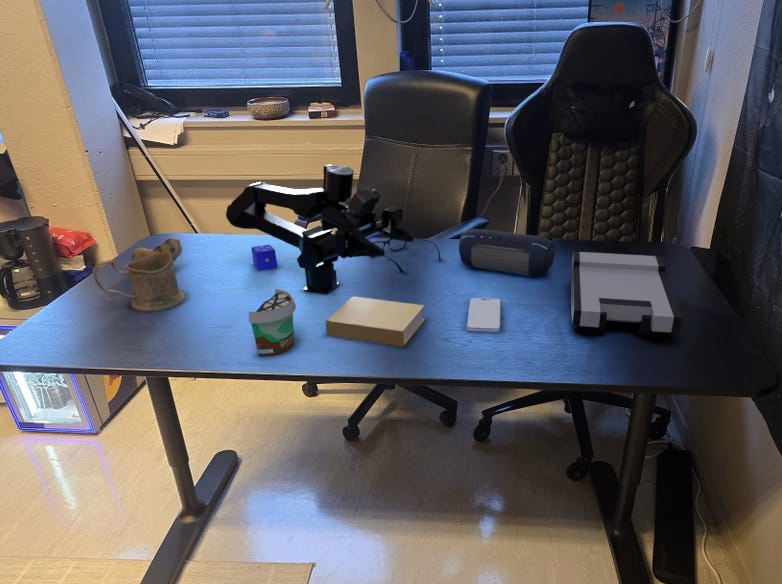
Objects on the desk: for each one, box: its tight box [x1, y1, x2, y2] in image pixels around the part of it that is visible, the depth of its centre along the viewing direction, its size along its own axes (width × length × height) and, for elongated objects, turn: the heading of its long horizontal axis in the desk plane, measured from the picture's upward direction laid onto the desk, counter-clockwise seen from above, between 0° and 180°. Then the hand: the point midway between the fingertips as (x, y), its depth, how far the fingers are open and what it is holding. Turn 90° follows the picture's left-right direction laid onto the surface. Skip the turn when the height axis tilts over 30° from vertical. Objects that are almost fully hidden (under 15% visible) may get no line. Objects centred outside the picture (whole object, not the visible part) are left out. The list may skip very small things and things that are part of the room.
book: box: [325, 295, 426, 348], centre depth 133 cm, size 17×13×4 cm
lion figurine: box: [130, 236, 183, 263], centre depth 160 cm, size 15×5×9 cm, turn 103°
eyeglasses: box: [369, 236, 442, 274], centre depth 170 cm, size 16×16×4 cm
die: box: [250, 244, 278, 272], centre depth 165 cm, size 5×5×5 cm
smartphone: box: [465, 297, 502, 333], centre depth 139 cm, size 7×1×15 cm
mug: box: [92, 251, 186, 312], centre depth 141 cm, size 12×18×12 cm, turn 137°
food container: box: [248, 288, 297, 358], centre depth 124 cm, size 12×6×10 cm, turn 168°
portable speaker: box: [458, 228, 556, 277], centre depth 161 cm, size 25×10×10 cm, turn 68°
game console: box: [570, 251, 683, 339], centre depth 139 cm, size 21×32×8 cm, turn 171°
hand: (398, 246), depth 133 cm, fingers open, 9 cm apart
